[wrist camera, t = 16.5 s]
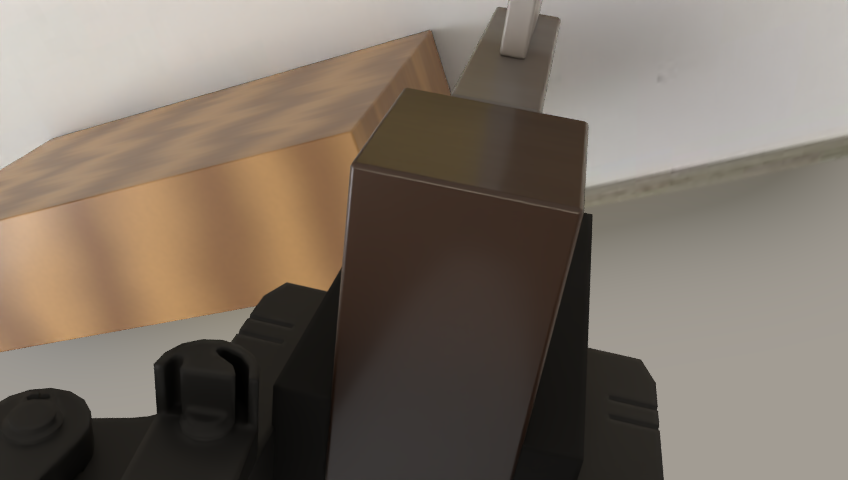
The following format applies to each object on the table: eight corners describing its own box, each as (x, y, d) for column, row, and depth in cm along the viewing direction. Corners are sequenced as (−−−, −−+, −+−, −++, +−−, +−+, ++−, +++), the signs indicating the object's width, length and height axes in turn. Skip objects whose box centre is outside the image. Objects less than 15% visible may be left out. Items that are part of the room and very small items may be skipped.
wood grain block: (100, 226, 48) (-66, 364, 36) (52, 138, 46) (-144, 255, 34) (466, 140, 41) (407, 280, 29) (431, 29, 38) (351, 131, 26)
